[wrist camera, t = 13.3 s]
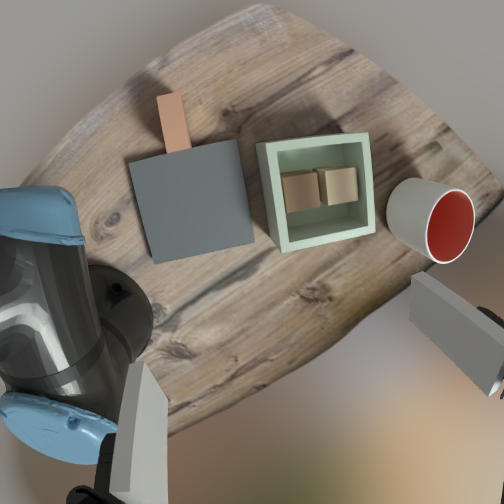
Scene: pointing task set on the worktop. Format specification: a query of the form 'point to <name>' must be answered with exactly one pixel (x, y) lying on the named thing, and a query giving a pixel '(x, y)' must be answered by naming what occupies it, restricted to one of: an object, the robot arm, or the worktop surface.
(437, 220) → the cup
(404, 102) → the worktop surface
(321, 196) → the part
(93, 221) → the worktop surface
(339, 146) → the tub
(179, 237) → the lid
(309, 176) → the part
